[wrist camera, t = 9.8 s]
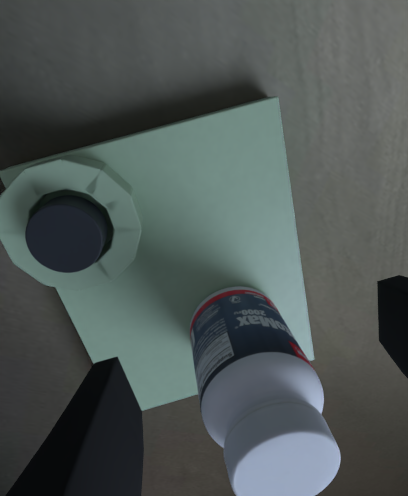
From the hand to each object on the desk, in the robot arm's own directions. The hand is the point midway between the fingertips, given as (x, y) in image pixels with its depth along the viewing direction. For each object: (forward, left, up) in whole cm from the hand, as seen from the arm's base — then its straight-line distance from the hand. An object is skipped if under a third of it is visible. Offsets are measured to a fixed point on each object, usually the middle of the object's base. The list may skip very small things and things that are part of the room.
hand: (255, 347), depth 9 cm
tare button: (+3, +6, -8) cm, 10 cm away
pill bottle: (-6, 0, -9) cm, 11 cm away
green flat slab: (-2, +2, -10) cm, 11 cm away
